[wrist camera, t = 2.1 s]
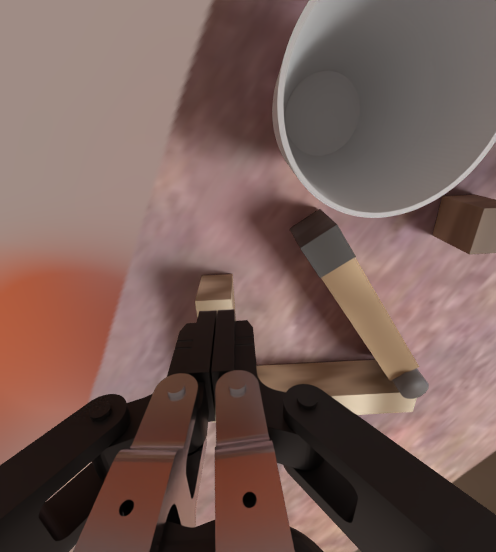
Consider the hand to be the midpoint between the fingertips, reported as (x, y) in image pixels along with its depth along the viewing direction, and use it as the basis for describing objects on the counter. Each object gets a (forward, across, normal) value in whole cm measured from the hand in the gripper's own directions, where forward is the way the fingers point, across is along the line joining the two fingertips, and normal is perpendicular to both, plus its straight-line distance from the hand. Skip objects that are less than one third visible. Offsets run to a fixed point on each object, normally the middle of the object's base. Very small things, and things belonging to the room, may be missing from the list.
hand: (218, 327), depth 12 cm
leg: (+11, -11, +5) cm, 16 cm away
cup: (+11, -7, -8) cm, 15 cm away
